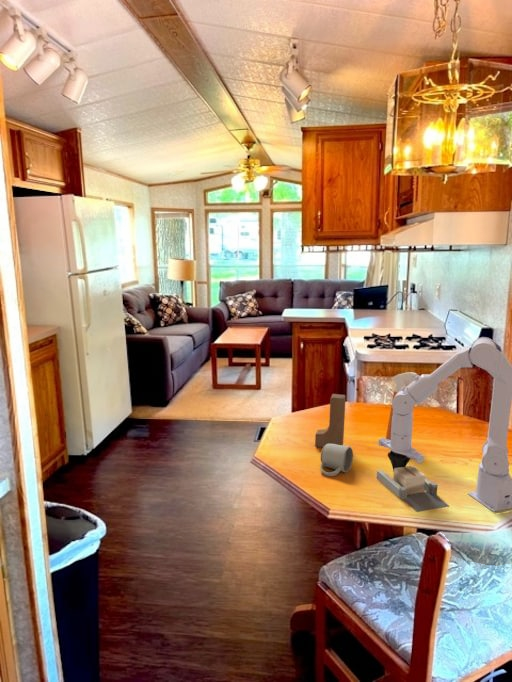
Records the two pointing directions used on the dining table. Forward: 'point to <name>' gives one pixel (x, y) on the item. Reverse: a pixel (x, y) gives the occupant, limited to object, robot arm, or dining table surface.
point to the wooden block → (333, 423)
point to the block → (410, 479)
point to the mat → (424, 501)
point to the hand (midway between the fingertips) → (398, 476)
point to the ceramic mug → (336, 458)
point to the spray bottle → (400, 383)
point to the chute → (402, 491)
